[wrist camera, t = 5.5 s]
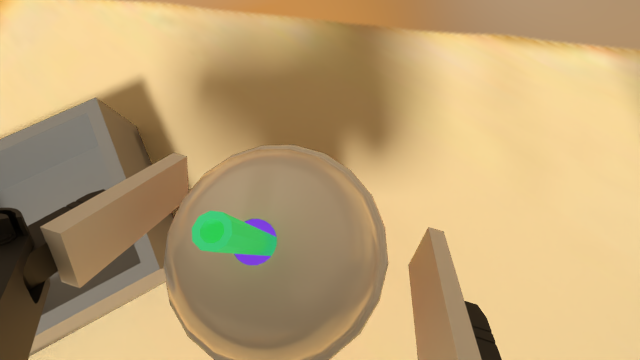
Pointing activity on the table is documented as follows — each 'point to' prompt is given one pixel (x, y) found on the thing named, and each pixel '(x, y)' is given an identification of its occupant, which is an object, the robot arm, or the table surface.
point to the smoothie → (276, 256)
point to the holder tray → (66, 187)
